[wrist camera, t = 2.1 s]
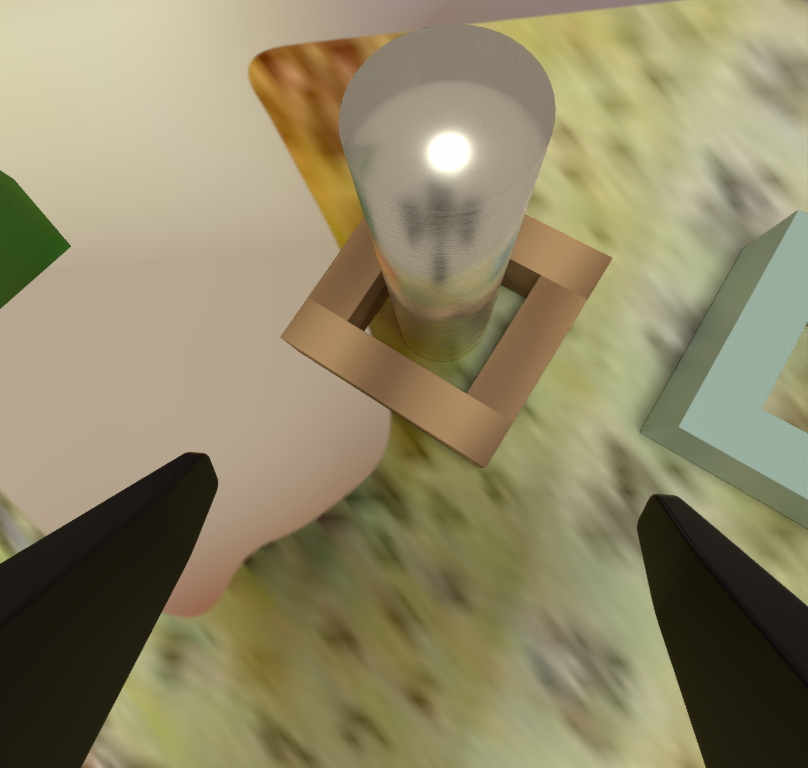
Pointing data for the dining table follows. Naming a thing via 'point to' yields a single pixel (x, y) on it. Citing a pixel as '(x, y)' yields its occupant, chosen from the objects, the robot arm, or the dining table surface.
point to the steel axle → (446, 172)
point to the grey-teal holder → (745, 376)
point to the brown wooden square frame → (421, 389)
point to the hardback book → (23, 240)
